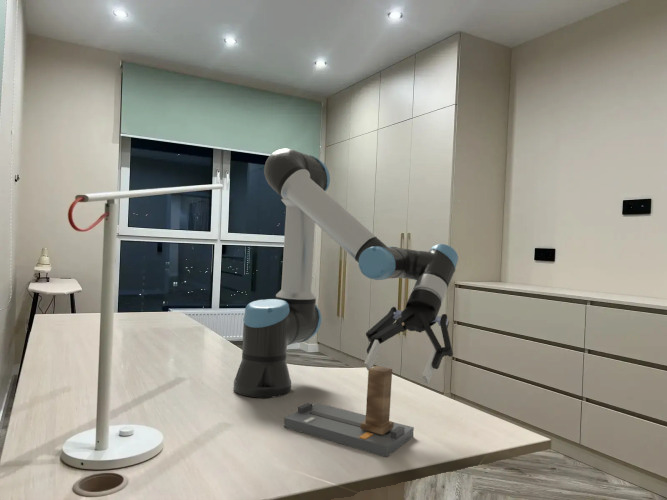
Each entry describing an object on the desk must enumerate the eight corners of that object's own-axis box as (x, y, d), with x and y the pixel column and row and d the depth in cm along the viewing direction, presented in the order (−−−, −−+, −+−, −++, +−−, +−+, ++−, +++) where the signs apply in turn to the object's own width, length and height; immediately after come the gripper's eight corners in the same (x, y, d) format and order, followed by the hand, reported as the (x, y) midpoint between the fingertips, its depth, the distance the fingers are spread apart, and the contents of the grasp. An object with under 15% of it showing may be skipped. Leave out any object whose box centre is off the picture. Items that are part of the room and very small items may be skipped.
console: (284, 426, 108) (284, 412, 108) (317, 411, 119) (318, 397, 119) (386, 457, 95) (387, 440, 95) (413, 436, 106) (414, 421, 106)
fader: (360, 429, 103) (363, 369, 103) (371, 422, 107) (375, 364, 107) (382, 435, 100) (386, 373, 100) (393, 427, 104) (396, 368, 104)
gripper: (481, 315, 116) (455, 395, 104) (383, 301, 129) (350, 371, 117) (476, 293, 111) (448, 374, 99) (375, 282, 124) (339, 352, 112)
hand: (395, 373), depth 108 cm, fingers open, 13 cm apart
